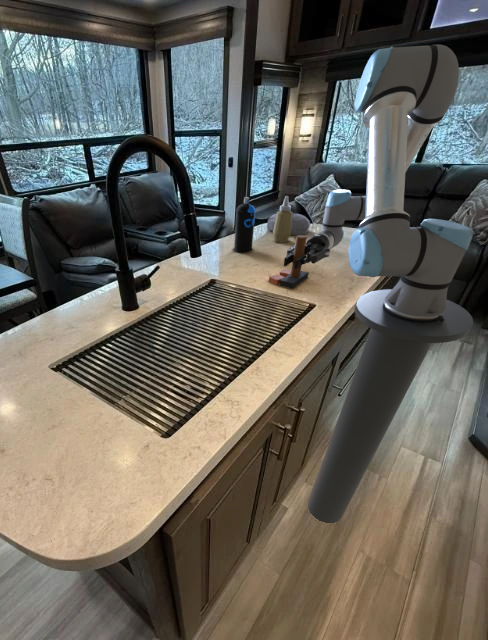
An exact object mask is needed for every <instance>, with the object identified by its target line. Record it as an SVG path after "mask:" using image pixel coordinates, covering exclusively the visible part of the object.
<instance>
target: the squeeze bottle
mask: <svg viewBox="0 0 488 640" xmlns="http://www.w3.org/2000/svg"><path fill="white" fill-rule="evenodd" d="M289 201H290V200H289V195H285V196H284V199H283V203H282V204H281V205H279V210H278V211H277V212H276V214H277V216H276V220H275V225H274V230H273V232H272V235H273V241H274V242H275V243H279V244H280V243H281V244H282V243H287V242H288V240H289V238H290V237H291V235H290V234H291V224H292V213H293V211H291V208H292V206H291V205H290V204H289Z"/></svg>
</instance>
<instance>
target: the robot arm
mask: <svg viewBox="0 0 488 640" xmlns="http://www.w3.org/2000/svg"><path fill="white" fill-rule="evenodd" d="M459 76H460V67H459V61H458V58H457V55H456V54H455V53H454V51H453V50H452V49H451V48H450V47H448V46H447V45H443V44H432V45H415V46H397V47H394V46H390V47H386V48H379V49H377V50H375V51H374V52H373V53H372V55H370V57H369V59H368V60H367V63H366V65H365V66H364V69H363V72H362V75H361V77H360V79H359V83H358V87H357V90H356V91H357V92H356V95H355V99H354V111H355V112H356V113H358V114H361V113H362V122H363V126H364V127H366V128H367V129H368V142H367V143H368V145H367V147H368V148H367V169H366V191H365V195H357V196H352V192H351V190H349V189H334V190H331V191H330V192H329V194H328V196H327V200H326V203H325V208H324V213H323V218H322V223H321V228H320V231H319V232H318V233H316V234H314V235H313V236H311V237H310V238H308V240H306V244H305V250H304V255H303V256H301V257H300V258H298V259H296V261H295V267H294V268H295V269H297V268H298V267H300V266H301V265H302V266H303V265H307V264H309V263H311V264H316V263H318V262H320V261H321V260H323V259H325V258H329V256H330V252H331V250H332V249H333V248H334V247H337V246H338V245H339V244H340V243H341V242H342V240H343V238H344V235H345V231H344V229H343V227H344V224H345V221H361V222H360V223H359V224H358V226H357V227H358V228H357V229H356V230H355V231H354V232H353V233H352V235H351V237H350V240H349V246H348V263H349V267H350V269H351V271H352V272H353V273H354V274H355V275H356V276H358V277H369V278H376V277H400V278H399V281H398V282H397V283H396V284H395V285H394V286H393V288H392V289H393V290H392V291H391V292H390V293H389V295H388V296H387V297H386V298H385V301H384V303H383V309H384V310H385V311H386V312H387V313H389V314H390V315H392V316H394V317H396V318H399V319H402V320H406V321H411V322H420V323H427V322H434V321H437V320H439V321H440V322H443V321H445V320H444V319H443V318H442V316H443V314H444V312H445V307H446V299H447V297H448V296H447V295H448V288H449V286H450V285H451V283H452V281H453V279H454V276H455V275H456V272H457V270H458V268H459V266H460V264H461V262H462V261H463V258H464V256H465V254H466V252H467V251H468V250H469V247H470V244H471V242H472V239H473V236H474V231H473V230H472V228H470V227H468V226H467V225H463V224H461V223H457V222H454V221H449V220H446V219H445V220H444V219H437V218H427V219H425V218H424V219H423V220H422V222H421V223H420V226H417V227H414V226H413V227H411V226H410V225H411V224H410V223H411V215H410V214H409V213H408V212H406V211H404V206H405V205H404V204H405V185H406V173H407V171H408V169H409V167H410V166H411V164H412V163H413V161H414V159H415V158H416V156H417V154H418V152H419V151H420V149H421V147H422V146H423V145H424V142H425V141H426V139H427V138H428V136H429V134H430V132H431V131H432V129H433V128H434V126H435V125H436V124H437V125H438V124H439V123H440V122H441V121H443V118H444V117H445V116H446V114H447V112H448V111H449V109H450V107H451V104H452V103H453V101H454V99H455V96H456V92H457V89H458V85H459V79H460V78H459ZM294 249H295V243H294V244H293V245H292V246H291V247H290V248H288V249H287V250H286V255H285V257H284V260H283V267H287V266H289V265H291V264H292V261H293V255H294ZM302 266H301V267H302Z"/></svg>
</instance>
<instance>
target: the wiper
mask: <svg viewBox="0 0 488 640" xmlns="http://www.w3.org/2000/svg"><path fill="white" fill-rule="evenodd" d="M307 239H308V236H307V235H305V234H299V235H296V237H295V243H294V244H295V249H294V255H293V261H292V263H291V269H290V270H291V273H290V274H289V275H287V276H286V277H284V278H283V279H281V280H280V284H279V287H282V288H287V289H291V290H294V289H295V288H296V287H298V286H299V285H300V284H301V283H303V282H305V281H306V280H307V279H308V278H309V274H310V272H309V271H304V270H302V266H303V265H301V266H300V267H298V268H297V269H295V268H294V267H295V261H296V259H298V258H300V257H301V256H303V255H304V250H305V244H306V242H307Z"/></svg>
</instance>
